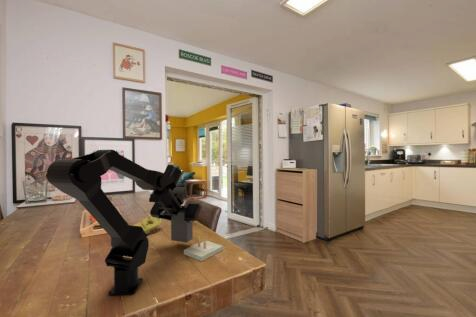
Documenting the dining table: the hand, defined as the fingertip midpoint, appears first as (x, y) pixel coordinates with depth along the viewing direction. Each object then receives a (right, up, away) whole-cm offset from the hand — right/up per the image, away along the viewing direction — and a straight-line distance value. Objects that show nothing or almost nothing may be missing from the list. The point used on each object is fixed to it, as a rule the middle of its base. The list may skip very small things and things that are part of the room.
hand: (183, 221), depth 85 cm
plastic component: (-24, -10, +13) cm, 29 cm away
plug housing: (0, -7, -1) cm, 7 cm away
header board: (+9, -9, -6) cm, 14 cm away
